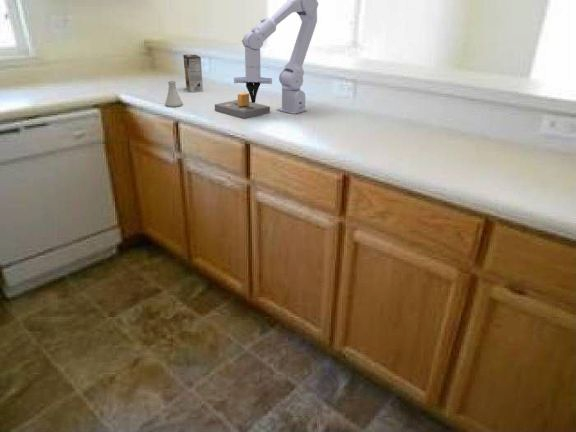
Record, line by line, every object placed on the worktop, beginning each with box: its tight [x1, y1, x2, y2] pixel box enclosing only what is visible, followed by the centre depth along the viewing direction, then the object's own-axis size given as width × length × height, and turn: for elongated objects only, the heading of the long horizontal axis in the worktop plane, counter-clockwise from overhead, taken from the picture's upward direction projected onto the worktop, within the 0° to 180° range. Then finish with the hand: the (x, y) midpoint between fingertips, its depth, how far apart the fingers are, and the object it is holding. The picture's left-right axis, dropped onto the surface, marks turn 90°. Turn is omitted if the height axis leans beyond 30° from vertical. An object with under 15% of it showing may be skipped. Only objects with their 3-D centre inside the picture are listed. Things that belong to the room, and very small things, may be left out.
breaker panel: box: [214, 99, 271, 120], centre depth 182 cm, size 18×14×3 cm
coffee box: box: [183, 54, 204, 93], centre depth 215 cm, size 9×6×16 cm
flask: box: [164, 80, 184, 108], centre depth 188 cm, size 7×7×10 cm
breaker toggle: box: [237, 92, 250, 106], centre depth 180 cm, size 2×4×4 cm, turn 137°
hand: (253, 102), depth 176 cm, fingers closed
